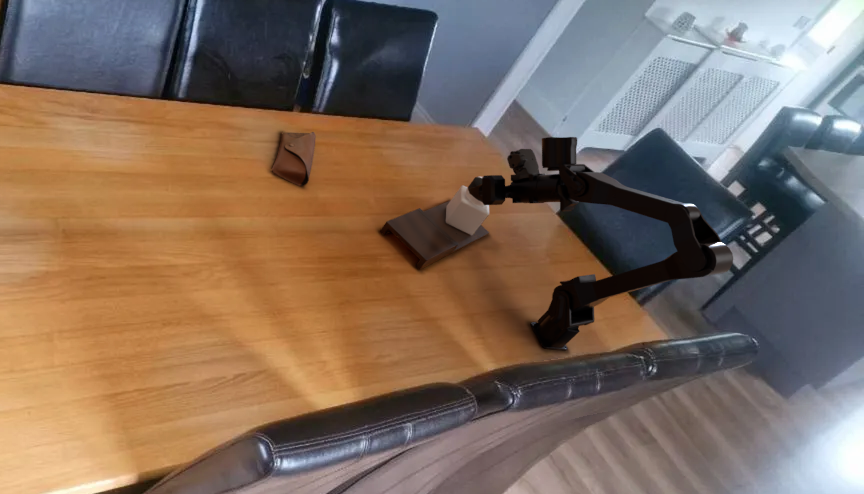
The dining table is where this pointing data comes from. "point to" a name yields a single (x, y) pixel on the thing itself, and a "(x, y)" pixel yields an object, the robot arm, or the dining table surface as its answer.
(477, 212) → the medicine bottle
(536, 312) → the dining table surface
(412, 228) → the step shelf
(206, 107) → the dining table surface
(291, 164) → the sunglasses case
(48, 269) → the dining table surface
